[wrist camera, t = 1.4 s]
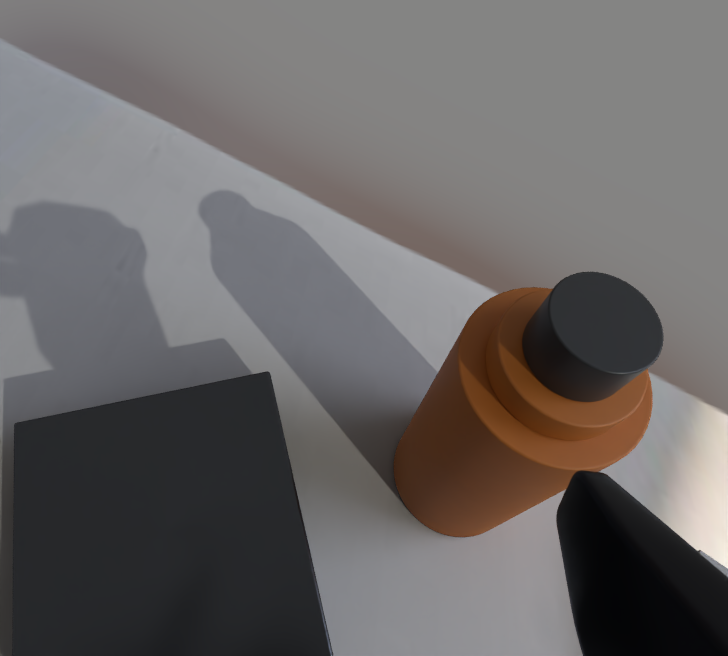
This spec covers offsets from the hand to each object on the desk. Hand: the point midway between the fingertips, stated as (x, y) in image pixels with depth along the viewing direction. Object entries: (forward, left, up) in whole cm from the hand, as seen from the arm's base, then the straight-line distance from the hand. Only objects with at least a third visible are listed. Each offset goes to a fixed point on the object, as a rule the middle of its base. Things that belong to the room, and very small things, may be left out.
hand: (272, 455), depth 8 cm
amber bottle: (0, -8, -14) cm, 16 cm away
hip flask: (+2, +3, -14) cm, 15 cm away
